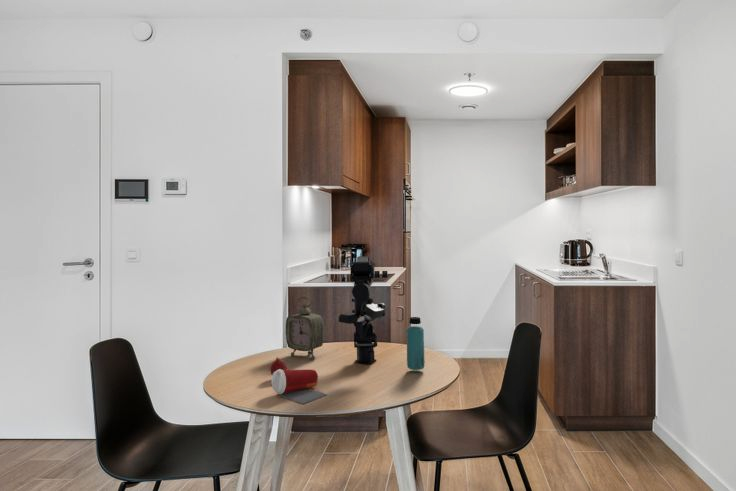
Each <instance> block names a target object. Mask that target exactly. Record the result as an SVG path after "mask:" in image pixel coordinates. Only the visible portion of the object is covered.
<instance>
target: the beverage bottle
mask: <svg viewBox="0 0 736 491" xmlns="http://www.w3.org/2000/svg"><path fill="white" fill-rule="evenodd" d="M421 323H422V321H421V317H419V316H412V317H409V324H410V325H409V326H408V327H407V329H406V366H407V368H408V369H409V370H413V371H419V370H423V369H424V368H425V362H426V361H425V337H424V336H425V334H424V332H425V330H424V328H423V327H422V326H420V324H421Z"/></svg>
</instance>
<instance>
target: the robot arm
mask: <svg viewBox="0 0 736 491" xmlns="http://www.w3.org/2000/svg"><path fill="white" fill-rule="evenodd" d="M370 258H371V257H370V256H368V255H363V256H362V255H359V256H357V257H356V261H355V260H354V261H352V264H350V278H349V279H350V282H354V283H353V287H352V289H351V294H352V297H353V298H351V302H352V303H353V304H354V309H352V310H351V312H344V313H340V314H339V316H338V323H342V324H350V325H351V324H353V326H354V327H355V331H354V332H353V345H354V347H353V348H354V349H356V359H355V360H354V363H358V364H361V365H370V364H372V363H375V362H377V359H375V349H374V348H376V347H378V335H377V334H376V332H375V330H374V326H373V324H372V322H374V321H375V320H377V319H381V318H382V317H385V316H386V305H385V303H383V302H380V303H378V304H377V303H374V299H373V298H371V289H370V288H371V286H372V284H373V283H374V279H375V275H376V273H375V263H373V261H371V260H370Z"/></svg>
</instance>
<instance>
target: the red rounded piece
mask: <svg viewBox="0 0 736 491" xmlns="http://www.w3.org/2000/svg"><path fill="white" fill-rule="evenodd" d="M278 369H281V370H288V368H287V365H286V363H285V362H284V361H283V360H282V359H281V358H279V357H278V356H276V358H275V360H274V361H273V362H272V363H271V364H270V368H269V373H270V374H271V376H272V375H273V373H274V372H275V371H277V370H278Z"/></svg>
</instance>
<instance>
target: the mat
mask: <svg viewBox="0 0 736 491" xmlns="http://www.w3.org/2000/svg"><path fill="white" fill-rule="evenodd" d="M276 395H277V396H278V397H281V398H285V399H287V400H290V401H292V402H295V403H298V404H301V405H305V404H308V403H311V402H313V401H315V400H318V399H321V398H323V397H326V396H327V395H328V394H327V393H324V392H322V391H320V390H319V391H318V390H315V389H312V388H305V389H299V390H294V391H288V392H283V393H282V394H278V393H276Z"/></svg>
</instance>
